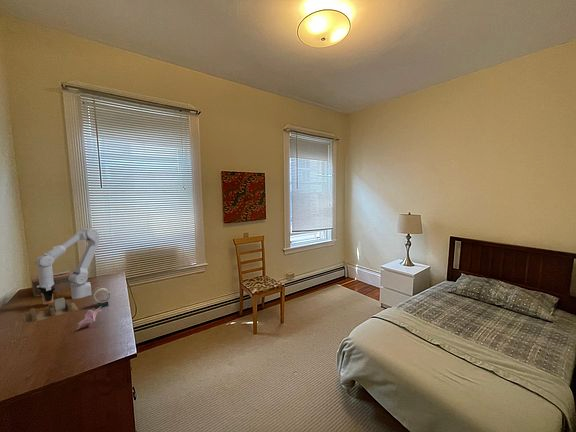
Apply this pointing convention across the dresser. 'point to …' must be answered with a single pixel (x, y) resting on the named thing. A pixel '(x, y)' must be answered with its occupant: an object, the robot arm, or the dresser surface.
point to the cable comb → (48, 312)
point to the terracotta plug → (47, 301)
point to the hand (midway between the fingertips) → (48, 299)
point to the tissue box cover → (59, 282)
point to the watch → (104, 302)
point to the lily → (89, 317)
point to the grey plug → (59, 304)
